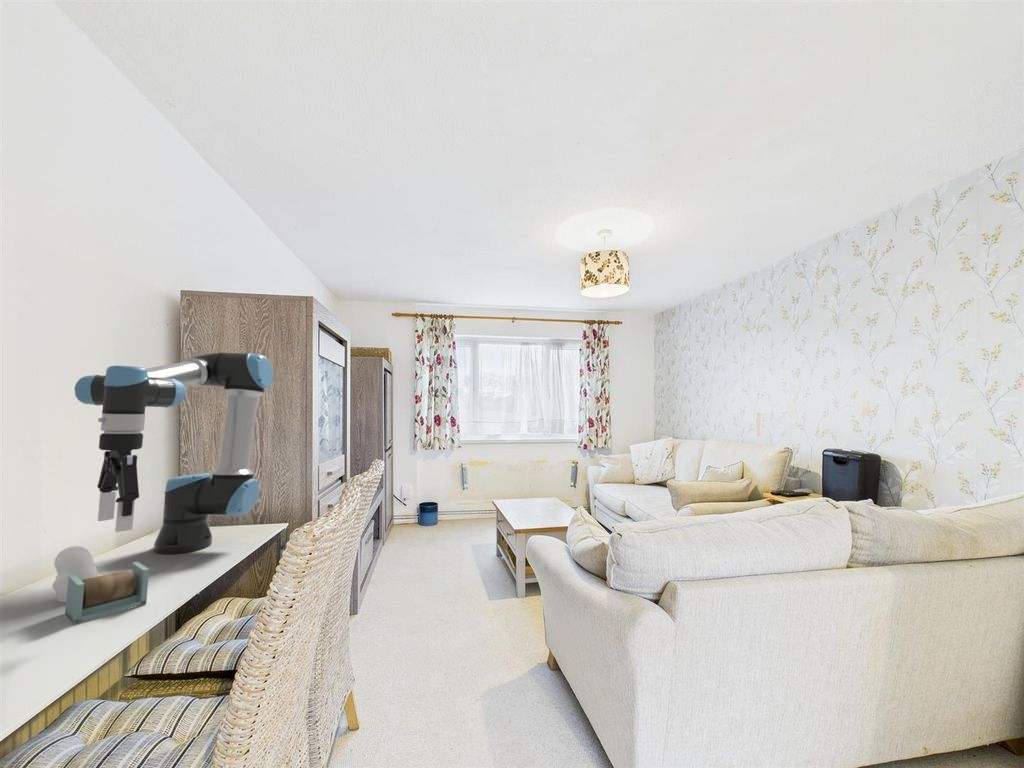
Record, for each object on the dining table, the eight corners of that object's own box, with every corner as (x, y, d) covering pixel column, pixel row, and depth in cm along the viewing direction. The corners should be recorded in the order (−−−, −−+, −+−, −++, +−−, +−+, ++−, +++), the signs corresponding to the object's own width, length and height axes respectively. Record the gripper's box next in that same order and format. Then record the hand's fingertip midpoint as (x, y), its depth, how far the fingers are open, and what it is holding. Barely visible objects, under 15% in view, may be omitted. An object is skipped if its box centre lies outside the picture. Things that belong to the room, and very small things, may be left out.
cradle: (134, 595, 106) (137, 561, 106) (146, 604, 101) (149, 569, 102) (65, 613, 96) (68, 575, 96) (74, 624, 91) (77, 585, 92)
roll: (124, 592, 103) (126, 566, 104) (133, 599, 100) (135, 572, 100) (78, 604, 97) (80, 576, 97) (85, 611, 93) (87, 583, 94)
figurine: (53, 596, 104) (58, 545, 104) (97, 588, 108) (101, 539, 109) (48, 607, 98) (53, 553, 99) (94, 598, 103) (99, 547, 104)
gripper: (85, 429, 105) (77, 518, 104) (117, 436, 91) (109, 539, 90) (126, 429, 111) (118, 513, 110) (161, 435, 97) (154, 531, 96)
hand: (114, 525), depth 100 cm, fingers open, 13 cm apart
